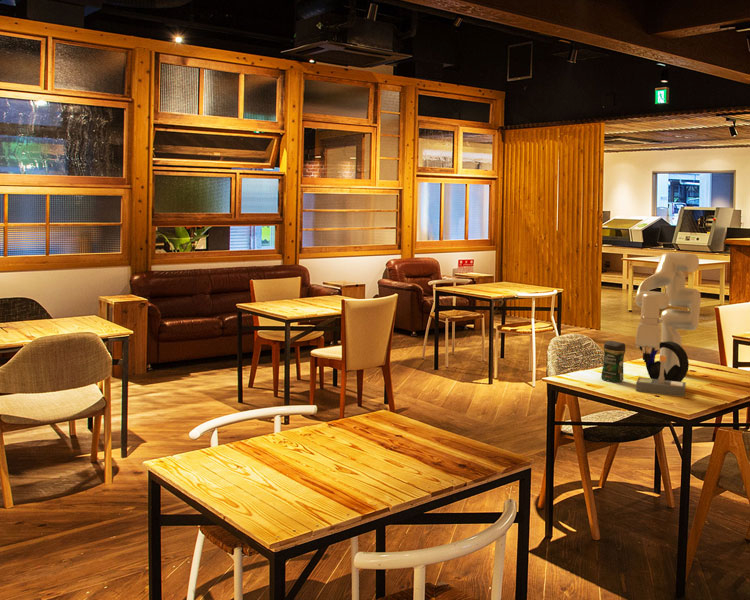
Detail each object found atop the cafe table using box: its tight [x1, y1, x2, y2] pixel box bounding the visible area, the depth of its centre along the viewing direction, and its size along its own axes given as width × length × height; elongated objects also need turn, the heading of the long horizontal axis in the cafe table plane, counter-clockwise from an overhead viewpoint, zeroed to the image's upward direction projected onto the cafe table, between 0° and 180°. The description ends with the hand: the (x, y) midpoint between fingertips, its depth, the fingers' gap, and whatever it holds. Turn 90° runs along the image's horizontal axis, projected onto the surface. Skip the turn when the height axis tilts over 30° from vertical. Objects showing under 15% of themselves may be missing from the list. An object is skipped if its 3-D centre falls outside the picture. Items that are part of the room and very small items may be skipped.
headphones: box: [645, 341, 690, 382], centre depth 356 cm, size 19×7×20 cm, turn 38°
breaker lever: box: [659, 355, 666, 378], centre depth 343 cm, size 3×2×12 cm
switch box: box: [635, 376, 687, 398], centre depth 344 cm, size 11×20×6 cm, turn 66°
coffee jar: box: [600, 340, 627, 383], centre depth 361 cm, size 10×8×19 cm
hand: (646, 361), depth 346 cm, fingers closed
